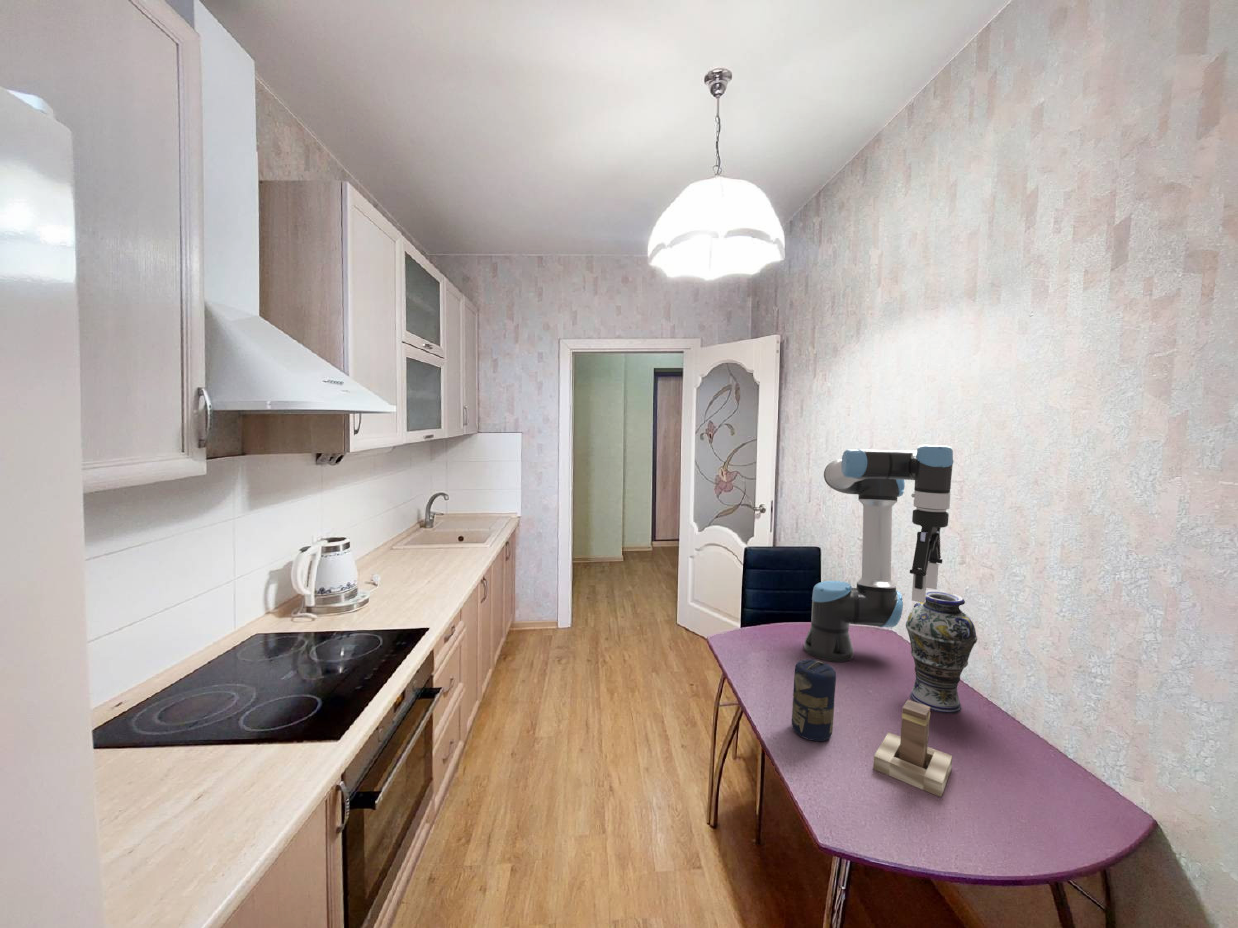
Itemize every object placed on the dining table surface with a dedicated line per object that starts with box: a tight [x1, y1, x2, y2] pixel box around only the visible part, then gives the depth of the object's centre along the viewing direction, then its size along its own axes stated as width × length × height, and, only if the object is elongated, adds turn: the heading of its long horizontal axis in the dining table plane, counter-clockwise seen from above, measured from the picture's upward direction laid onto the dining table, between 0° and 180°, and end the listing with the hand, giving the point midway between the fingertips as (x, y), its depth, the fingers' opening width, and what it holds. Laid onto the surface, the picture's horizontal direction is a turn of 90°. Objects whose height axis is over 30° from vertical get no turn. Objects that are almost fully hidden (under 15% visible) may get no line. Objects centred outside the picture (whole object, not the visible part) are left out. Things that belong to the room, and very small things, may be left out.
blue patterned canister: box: [791, 658, 837, 742], centre depth 128 cm, size 10×10×18 cm
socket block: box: [872, 732, 953, 798], centre depth 116 cm, size 12×13×3 cm
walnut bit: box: [899, 699, 931, 769], centre depth 116 cm, size 5×5×14 cm
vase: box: [905, 589, 978, 714], centre depth 143 cm, size 17×17×30 cm
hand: (924, 594), depth 129 cm, fingers open, 13 cm apart
